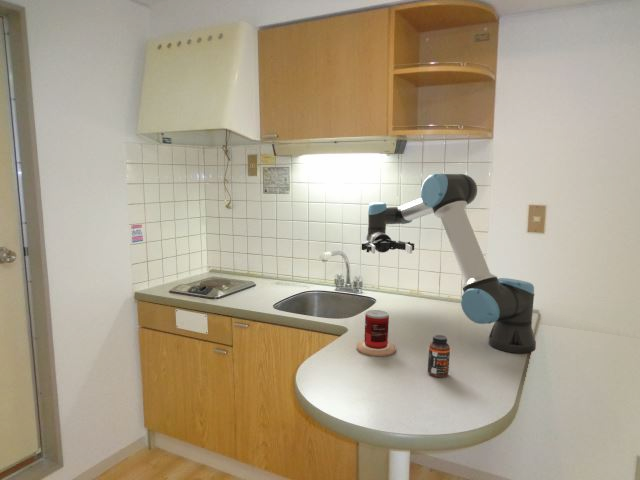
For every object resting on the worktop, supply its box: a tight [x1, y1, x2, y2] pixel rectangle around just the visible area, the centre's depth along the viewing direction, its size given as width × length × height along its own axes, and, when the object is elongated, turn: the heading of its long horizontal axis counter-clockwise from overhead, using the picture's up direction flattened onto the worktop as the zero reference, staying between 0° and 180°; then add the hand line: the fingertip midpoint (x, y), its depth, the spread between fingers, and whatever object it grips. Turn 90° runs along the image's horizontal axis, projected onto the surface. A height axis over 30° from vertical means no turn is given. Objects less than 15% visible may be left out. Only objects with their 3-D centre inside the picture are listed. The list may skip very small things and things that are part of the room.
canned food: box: [364, 309, 390, 349], centre depth 155 cm, size 8×8×11 cm
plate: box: [355, 339, 397, 357], centre depth 156 cm, size 13×13×1 cm
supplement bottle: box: [427, 334, 451, 378], centre depth 136 cm, size 6×6×11 cm
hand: (392, 249), depth 169 cm, fingers open, 13 cm apart
